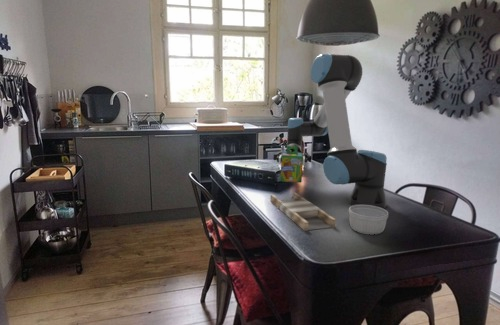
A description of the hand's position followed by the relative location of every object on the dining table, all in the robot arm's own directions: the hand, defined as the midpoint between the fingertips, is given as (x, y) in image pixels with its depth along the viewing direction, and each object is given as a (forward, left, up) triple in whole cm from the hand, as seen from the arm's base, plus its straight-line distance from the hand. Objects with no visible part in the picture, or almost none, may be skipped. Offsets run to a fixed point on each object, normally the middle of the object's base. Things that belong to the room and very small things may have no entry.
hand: (291, 161), depth 146 cm
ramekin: (-34, +13, -18) cm, 41 cm away
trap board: (-8, +10, -18) cm, 22 cm away
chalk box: (+1, -4, -9) cm, 10 cm away
